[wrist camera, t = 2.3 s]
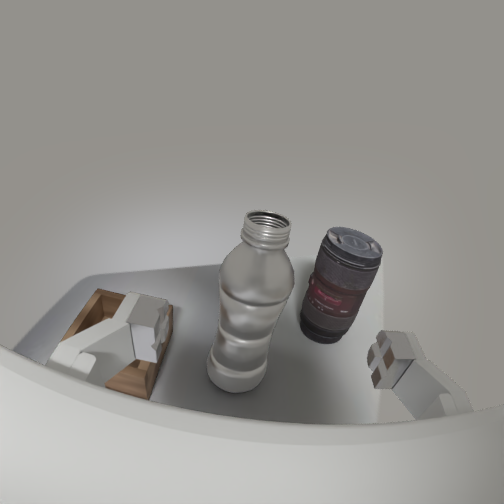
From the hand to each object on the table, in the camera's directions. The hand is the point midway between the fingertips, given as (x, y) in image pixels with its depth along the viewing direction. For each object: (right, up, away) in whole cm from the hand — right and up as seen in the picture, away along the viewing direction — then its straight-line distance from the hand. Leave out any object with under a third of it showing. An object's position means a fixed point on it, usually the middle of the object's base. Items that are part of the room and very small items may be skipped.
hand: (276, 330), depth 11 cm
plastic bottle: (-3, -12, +22) cm, 26 cm away
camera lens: (+9, -9, +33) cm, 35 cm away
